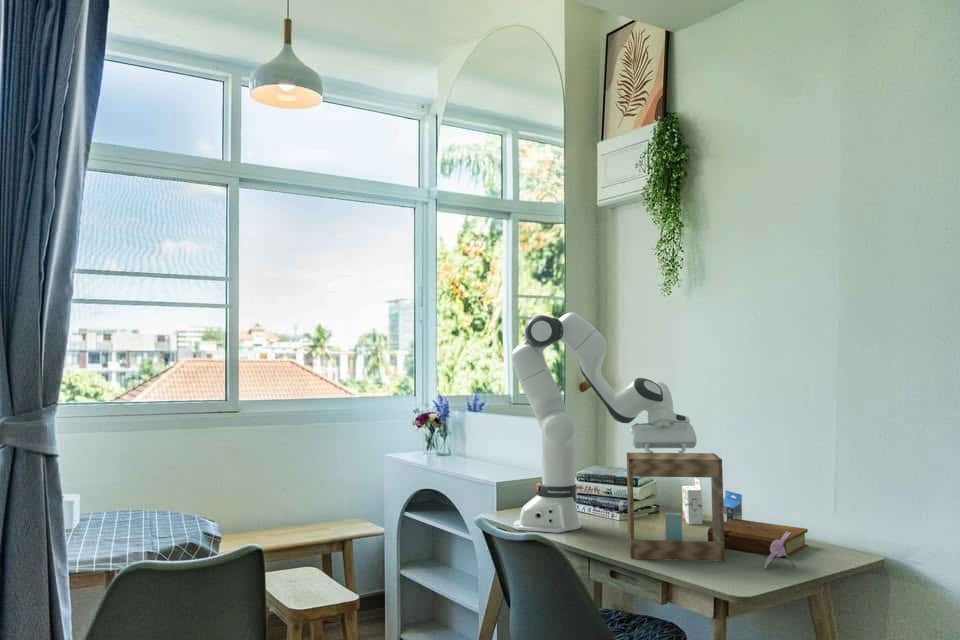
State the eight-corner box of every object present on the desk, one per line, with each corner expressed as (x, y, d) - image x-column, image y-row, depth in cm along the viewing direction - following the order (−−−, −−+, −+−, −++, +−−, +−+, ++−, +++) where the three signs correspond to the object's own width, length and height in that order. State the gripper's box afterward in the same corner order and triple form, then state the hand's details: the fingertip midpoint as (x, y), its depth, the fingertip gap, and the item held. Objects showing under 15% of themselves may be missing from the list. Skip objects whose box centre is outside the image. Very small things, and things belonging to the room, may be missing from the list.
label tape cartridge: (716, 528, 252) (715, 490, 252) (726, 527, 253) (725, 490, 254) (733, 534, 243) (732, 495, 244) (743, 533, 245) (742, 494, 245)
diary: (708, 548, 229) (707, 528, 229) (733, 536, 243) (733, 518, 243) (785, 560, 214) (784, 539, 214) (808, 547, 227) (807, 528, 228)
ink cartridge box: (681, 519, 266) (681, 476, 267) (696, 519, 266) (695, 476, 267) (688, 524, 258) (687, 480, 258) (702, 524, 258) (701, 480, 258)
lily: (777, 562, 214) (759, 532, 215) (815, 552, 207) (796, 521, 207) (764, 585, 205) (745, 554, 206) (804, 576, 197) (784, 543, 198)
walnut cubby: (630, 558, 215) (629, 458, 217) (628, 546, 229) (626, 452, 231) (724, 561, 212) (722, 459, 213) (716, 548, 226) (714, 453, 227)
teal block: (667, 553, 220) (666, 515, 221) (665, 550, 224) (665, 512, 225) (682, 554, 220) (681, 515, 220) (681, 550, 223) (680, 512, 224)
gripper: (630, 417, 253) (633, 450, 243) (693, 416, 250) (699, 450, 240) (630, 429, 257) (632, 463, 247) (692, 429, 254) (697, 462, 244)
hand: (666, 456), depth 243 cm, fingers open, 8 cm apart
